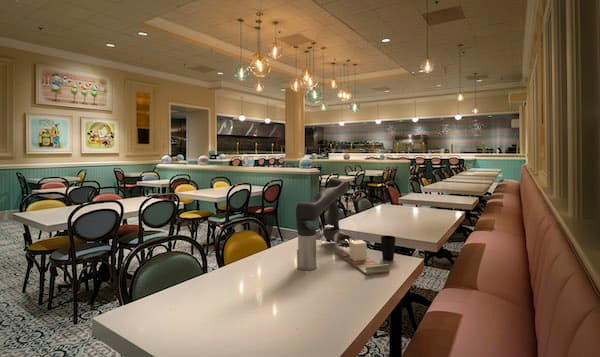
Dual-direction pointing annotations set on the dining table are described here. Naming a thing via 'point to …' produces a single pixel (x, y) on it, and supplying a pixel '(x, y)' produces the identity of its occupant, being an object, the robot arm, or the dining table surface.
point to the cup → (388, 247)
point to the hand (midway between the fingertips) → (355, 247)
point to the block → (358, 250)
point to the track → (368, 266)
